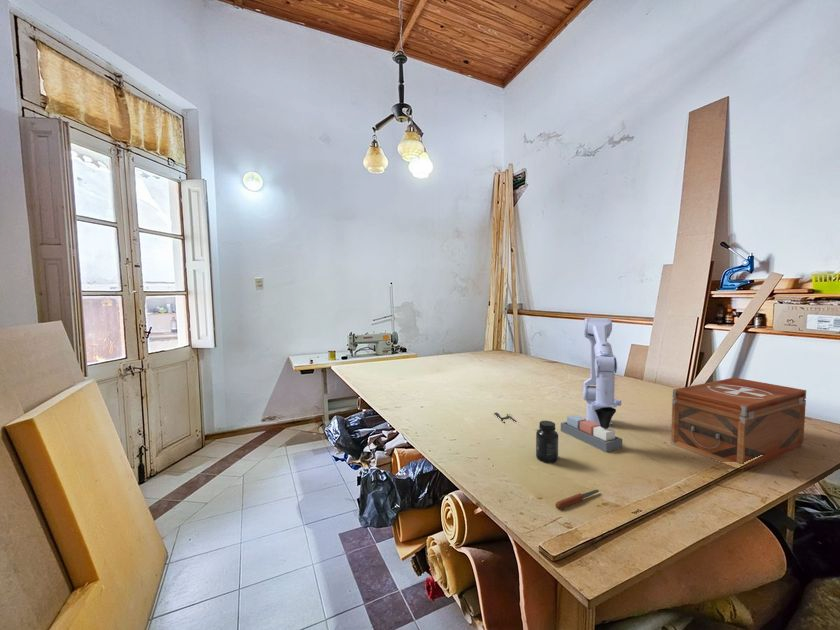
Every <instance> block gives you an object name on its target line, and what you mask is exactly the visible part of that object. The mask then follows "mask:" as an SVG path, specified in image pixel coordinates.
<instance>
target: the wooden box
mask: <svg viewBox="0 0 840 630" xmlns="http://www.w3.org/2000/svg"><path fill="white" fill-rule="evenodd" d="M806 399H807V389H801V388H796V387H790V386H784V385H780V384H779V385H778V384H772V383H767V382H761V381H756V380H748V379H744V378H738V377H731V378H726V379H720V380H719V379H718V380H714V381H710V382H705V383H700V384H695V385H690V386H686V387H680V388H675V389H672V399H671V402H672V403H671V404H672V405H671V406H672V407H671V408H672V409H671V429H670V430H671V435H670V445H672V446H675V447H678V448H680V449H682V450H686V451H689V452H691V453H693V454H696V455H700V456H702V457H705V458H707V459H710V460H712V459H714V460H713V461H715V460H717V461H716V462H718V461H720V462H737V463H739V464H744V462H746V461H748V460H751V459H753V458H755V457H758V456H760V455H764V456H762V457H761V458H760V459H758V460H756V461H755V462H753V463H751V464H749V465H748V466H747V468H748V467H750V468H753V467H754V466H755V467H756V466H757V465H759V464H762V463H765V462H767V461H769V460H772V459H774V458H776V457H777V458H778V457H779V456H782V455H784V454H787V453H788V452H791V451H794V450H796V449H800V448H801V447H803V446H804V438H805V425H806V424H805V423H806V422H805V421H806V419H805V418H806V405H807V400H806ZM720 462H719V463H720ZM752 466H753V467H752ZM748 469H749V468H748Z"/></svg>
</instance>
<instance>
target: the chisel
mask: <svg viewBox="0 0 840 630" xmlns="http://www.w3.org/2000/svg"><path fill="white" fill-rule="evenodd" d="M599 492H600V490H599V489H594V490H591V491H587V492H585V493H580V492H579V493H577V494H575V495H572V496H570V497H567V498H564V499H560V500H559V501H557V502H556V503H555V508H556V509H557V510H561V511H562V510H564V509H567V508H569V507H572V506H573V505H576V504H578V503H581V502H583V501H584V499H586V498H588V497H591V496H593V495H595V494H597V493H599Z"/></svg>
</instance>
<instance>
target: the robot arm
mask: <svg viewBox="0 0 840 630" xmlns="http://www.w3.org/2000/svg"><path fill="white" fill-rule="evenodd" d="M612 331H613V320H612V319H611V318H610V317H609V318H605V317H603V318H602V317H601V318H599V317H598V318H597V317H596V318H594V317H591V318H590V317H589V318H588V317H585V318H584V321H583V335H584V338H586V339H588V340H589V346H590V347H589V348H590V350H589V351H590V354H589V355H590V361H589V362H590V377H589V378H587V379H586V380H583V381H584V382H583V383H582V386H583V387H582V399H583V400H584V401H586V408H585V411H586V415H585V419H586V420H590V421H593V422H595V423H598V424H600V426H601V427H602V428H604V429H607V428H610V425H614V422H613V421H612V419H613V416H614V415H615V414H616V412H617V409H616V408H617V407H618V406H619V407H620V406H622V400H621V399H618V398H615V387H616V386H615V385H616V384H615V383H616V381H615V379H616V373H617V371H618V360H617V357H616V356H615V354H614V353H613V347H612V344H611V343H610V342H608V338H609V337H610V336H611V333H612Z"/></svg>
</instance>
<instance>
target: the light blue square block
mask: <svg viewBox="0 0 840 630" xmlns="http://www.w3.org/2000/svg"><path fill="white" fill-rule="evenodd" d="M581 421H586V417H585V418H584V417H582V416H579V415H577V414H574V415H569V416H566V422H567V424H568V425H570V426H573V427H575V428H577V429H578V428H580V422H581Z"/></svg>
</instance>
